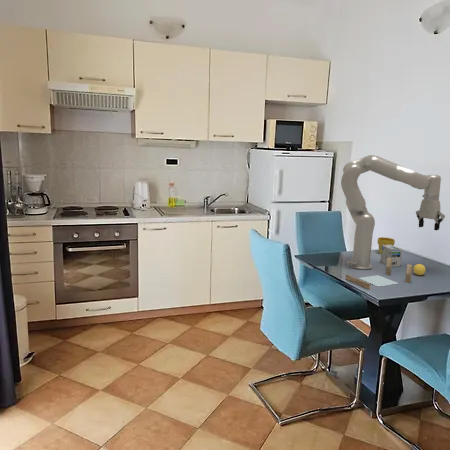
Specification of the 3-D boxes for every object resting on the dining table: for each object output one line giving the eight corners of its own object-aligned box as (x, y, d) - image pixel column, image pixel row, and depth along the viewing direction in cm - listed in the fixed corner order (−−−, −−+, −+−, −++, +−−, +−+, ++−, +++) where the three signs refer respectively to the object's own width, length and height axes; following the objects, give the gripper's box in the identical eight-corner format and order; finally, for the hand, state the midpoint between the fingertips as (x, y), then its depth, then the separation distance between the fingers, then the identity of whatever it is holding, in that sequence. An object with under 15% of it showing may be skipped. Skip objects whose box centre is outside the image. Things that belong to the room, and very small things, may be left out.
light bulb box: (400, 266, 241) (402, 248, 239) (390, 267, 240) (392, 249, 238) (389, 261, 252) (391, 244, 250) (379, 262, 250) (381, 244, 248)
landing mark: (378, 286, 205) (378, 286, 205) (357, 278, 217) (357, 278, 217) (398, 283, 211) (398, 283, 211) (377, 275, 223) (377, 275, 223)
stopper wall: (368, 289, 200) (368, 284, 200) (345, 279, 215) (345, 274, 214) (369, 289, 201) (370, 284, 200) (346, 279, 215) (347, 274, 214)
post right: (408, 282, 212) (410, 265, 211) (403, 281, 215) (405, 264, 213) (411, 282, 213) (413, 265, 212) (407, 280, 216) (409, 264, 214)
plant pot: (396, 255, 267) (398, 240, 265) (383, 256, 264) (384, 241, 262) (386, 251, 277) (387, 236, 275) (372, 251, 274) (374, 237, 272)
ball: (419, 277, 223) (420, 266, 222) (410, 273, 228) (411, 263, 227) (427, 275, 225) (428, 265, 224) (417, 272, 231) (419, 262, 230)
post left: (388, 275, 224) (389, 259, 222) (384, 273, 226) (386, 258, 224) (391, 274, 225) (393, 258, 223) (387, 273, 227) (389, 257, 226)
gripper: (413, 196, 233) (410, 226, 236) (441, 199, 218) (438, 232, 221) (422, 195, 236) (419, 225, 239) (450, 199, 221) (447, 230, 224)
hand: (428, 228), depth 230 cm, fingers open, 9 cm apart
